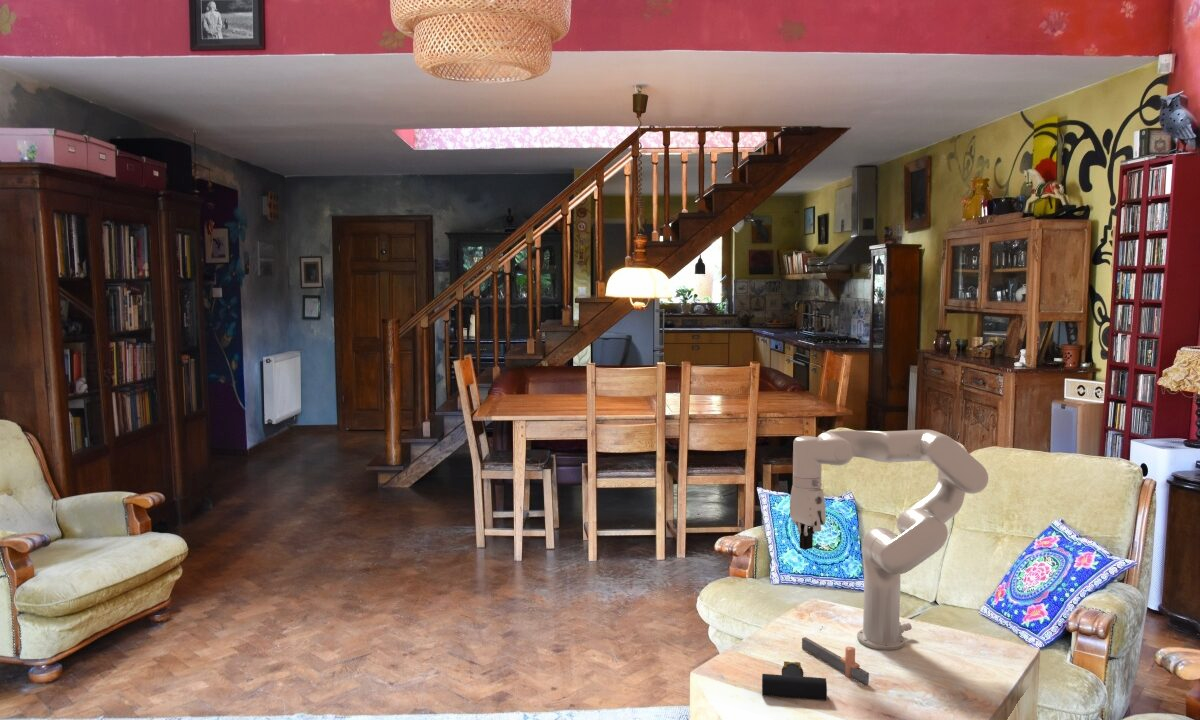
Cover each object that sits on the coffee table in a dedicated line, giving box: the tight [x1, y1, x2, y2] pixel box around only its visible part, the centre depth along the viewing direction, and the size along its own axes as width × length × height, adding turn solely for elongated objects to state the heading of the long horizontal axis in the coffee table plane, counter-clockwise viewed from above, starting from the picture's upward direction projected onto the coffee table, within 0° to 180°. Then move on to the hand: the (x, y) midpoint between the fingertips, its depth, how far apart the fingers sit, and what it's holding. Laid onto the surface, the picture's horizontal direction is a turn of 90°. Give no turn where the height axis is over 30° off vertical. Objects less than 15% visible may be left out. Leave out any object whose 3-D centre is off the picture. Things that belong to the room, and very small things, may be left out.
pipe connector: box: [761, 661, 828, 701], centre depth 209 cm, size 12×5×15 cm
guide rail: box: [801, 636, 870, 686], centre depth 221 cm, size 2×24×7 cm, turn 26°
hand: (806, 548), depth 232 cm, fingers closed
